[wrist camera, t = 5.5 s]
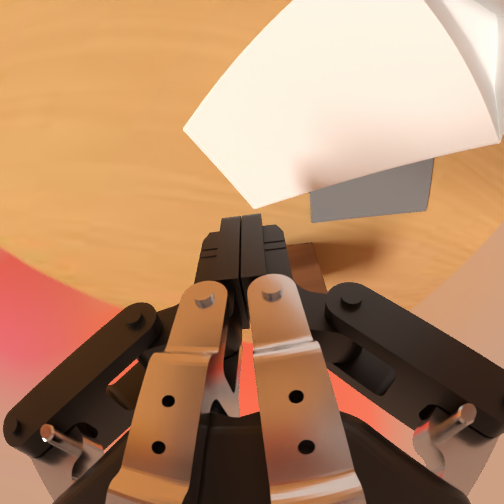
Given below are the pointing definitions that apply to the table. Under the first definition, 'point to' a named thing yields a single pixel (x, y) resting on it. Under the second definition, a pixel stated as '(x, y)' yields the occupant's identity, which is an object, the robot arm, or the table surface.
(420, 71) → the milk carton
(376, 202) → the mat
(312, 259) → the wooden block
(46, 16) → the table surface
